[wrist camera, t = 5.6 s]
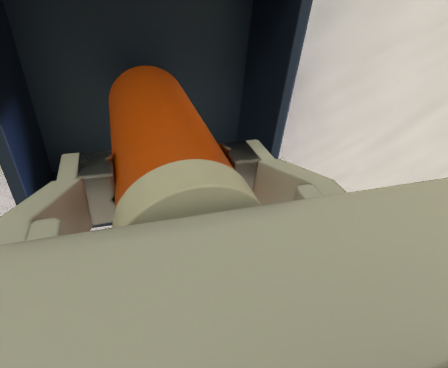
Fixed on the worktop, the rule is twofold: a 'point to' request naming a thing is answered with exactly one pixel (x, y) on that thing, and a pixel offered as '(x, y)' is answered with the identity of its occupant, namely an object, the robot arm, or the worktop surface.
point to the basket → (132, 57)
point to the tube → (166, 154)
